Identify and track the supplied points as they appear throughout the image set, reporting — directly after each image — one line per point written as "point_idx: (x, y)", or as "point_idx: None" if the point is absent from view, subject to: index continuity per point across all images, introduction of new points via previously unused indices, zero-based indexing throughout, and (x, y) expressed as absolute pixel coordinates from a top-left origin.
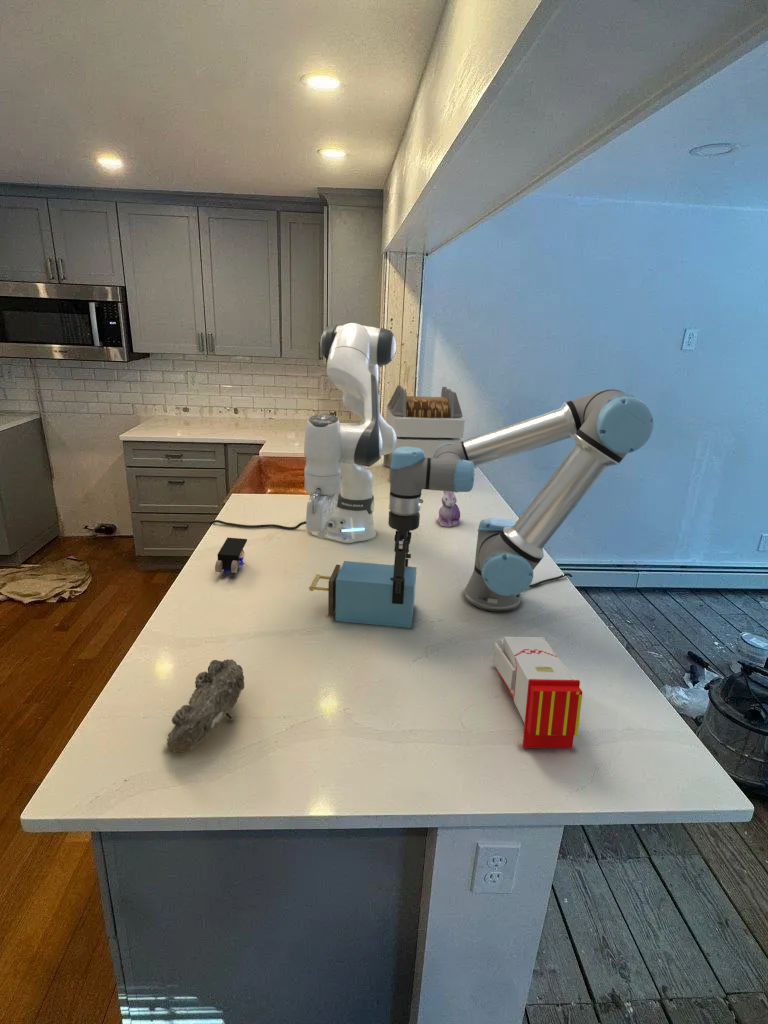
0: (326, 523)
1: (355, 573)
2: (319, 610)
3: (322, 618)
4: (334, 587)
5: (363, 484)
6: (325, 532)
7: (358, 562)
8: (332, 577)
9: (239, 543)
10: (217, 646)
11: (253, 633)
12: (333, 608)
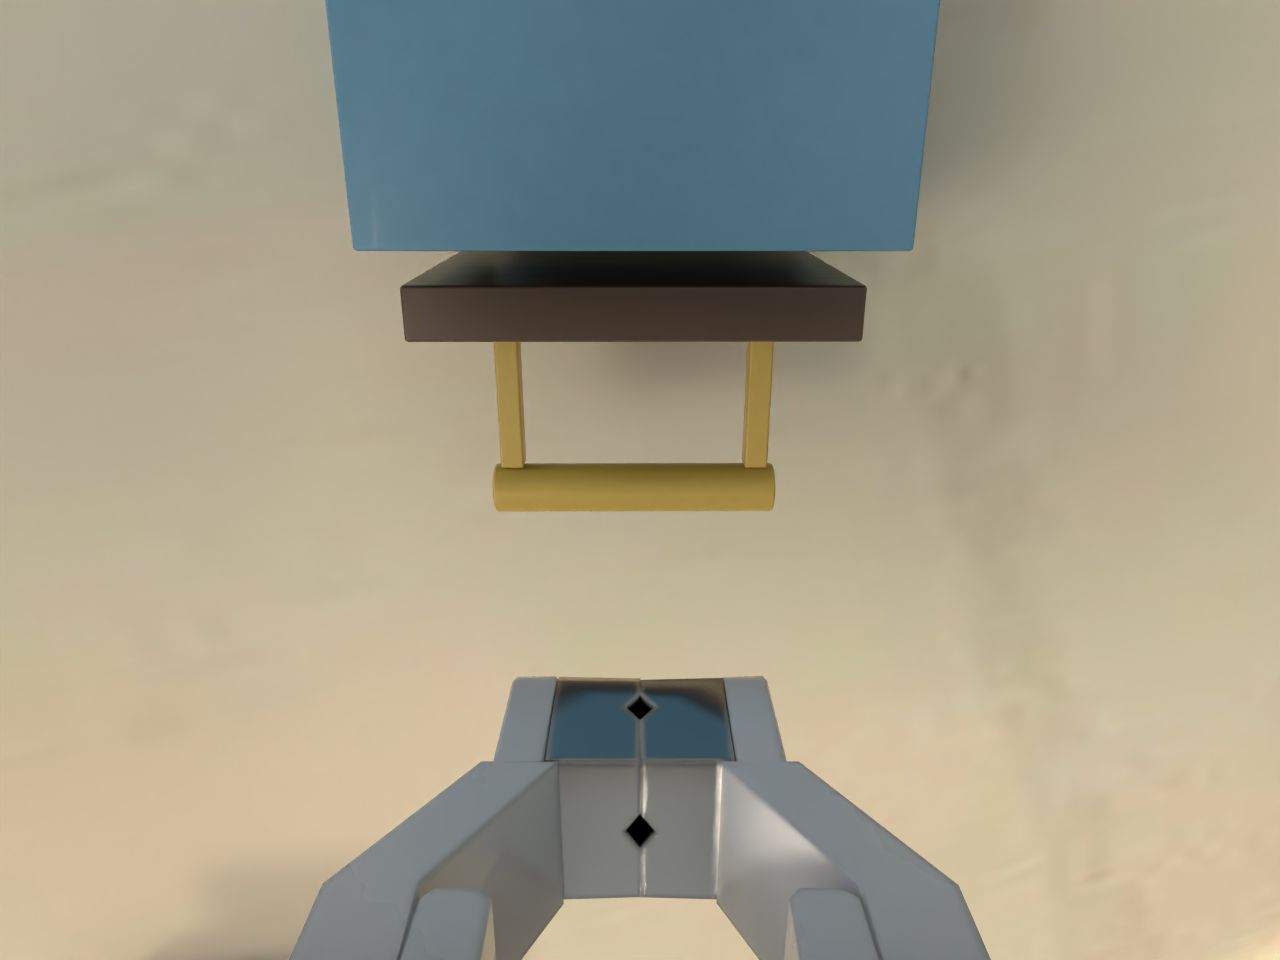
0: (470, 863)
1: (709, 14)
2: (665, 367)
3: None
4: (770, 270)
5: None
6: (695, 729)
7: (344, 30)
8: (766, 315)
9: None
10: (1144, 815)
11: (1006, 690)
12: None
